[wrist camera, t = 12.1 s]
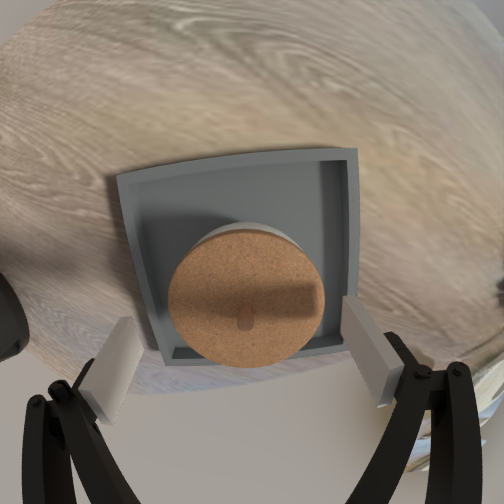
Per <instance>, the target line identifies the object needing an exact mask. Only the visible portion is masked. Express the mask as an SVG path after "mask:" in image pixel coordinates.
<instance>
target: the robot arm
mask: <svg viewBox="0 0 504 504" xmlns="http://www.w3.org/2000/svg"><path fill="white" fill-rule="evenodd" d="M340 333H341V335H342V337H343V338H344V340H345V342H346V344H347V346H348V348H349V350H350V352H351V354H352V356H353V358H354V360H355V362H356V364H357V366H358V368H359V370H360V372H361V375H362V377H363V378H364V381H365V383H366V385H367V387H368V389H369V391H370V393H371V395H372V397H373V399H374V401H375V404H376V406H377V408H379V407H382V406H385V405H389V404H391V403H392V400H393V397H395V399H396V401H397V403H396V406H395V408H394V411H393V413H392V416H391V418H390V421H389V423H388V425H387V427H386V430H385V432H384V434H383V437H382V439H381V441H380V443H379V445H378V447H377V449H376V451H375V453H374V455H373V457H372V459H371V461H370V462H369V464H368V466H367V468H366V470H365V472H364V473H363V475H362V477H361V479H360V480H359V482H358V484H357V486H356V487H355V489H354V491H353V492H352V494H351V495H350V497H349V498H348V500H347V502H346V503H345V504H388V503H389V501H390V499H391V497H392V495H393V493H394V491H395V489H396V487H397V485H398V483H399V480H400V478H401V476H402V474H403V471H404V469H405V467H406V464H407V462H408V459H409V457H410V454H411V452H412V449H413V446H414V444H415V441H416V438H417V435H418V432H419V429H420V426H421V423H422V419H423V416H424V413H425V410H431V451H430V466H429V477H428V486H427V493H426V500H425V504H481V502H482V447H481V435H480V425H479V417H478V410H477V404H476V398H475V392H474V387H473V382H472V378H471V373H470V369H469V367H468V366H467V365H466V364H464V363H462V362H458V361H456V362H452V363H450V364H449V366H448V367H447V369H446V370H441V371H432V369H431V368H429V367H428V366H426V365H420V364H419V363H418V362H417V360H416V359H415V358H414V356H413V355H412V353H411V352H410V351H409V349H408V348H407V347H406V345H405V344H404V343H403V341H402V340H401V339H400V337H399V336H398V335H396V334H395V333H393V332H387V333H382V331H381V330H380V328H379V327H378V326H377V324H376V323H375V321H374V320H373V319H372V317H371V316H370V315H369V313H368V312H367V310H366V309H365V308H364V306H363V305H362V304H361V302H360V301H359V300H358V298H357V297H356V296H355V294H353V295H346V296H343V304H342V319H341V331H340ZM28 342H29V327H28V323H27V319H26V316H25V313H24V311H23V308H22V306H21V304H20V302H19V300H18V298H17V296H16V294H15V293H14V291H13V289H12V288H11V286H10V285H9V283H8V282H7V281H6V279H5V278H4V277H3V276H2V275H1V274H0V362H2V361H4V360H6V359H8V358H10V357H13V356H15V355H17V354H19V353H20V352H21V351H22V350H23V349H24V348H25V347H26V346H27V344H28ZM143 351H144V349H143V347H142V344H141V342H140V339H139V336H138V334H137V331H136V328H135V325H134V323H133V320H132V317H121V318H120V320H119V321H118V323H117V324H116V326H115V328H114V329H113V331H112V332H111V334H110V335H109V337H108V339H107V340H106V342H105V344H104V345H103V347H102V348H101V350H100V352H99V353H98V355H97V357H96V358H92V359H90V360H89V361H88V362H87V363H86V364H85V366H84V367H83V369H82V371H81V372H80V374H79V376H78V377H77V379H76V381H75V383H74V384H73V386H72V388H70V386H69V384H68V383H67V381H65V380H57V381H55V382H53V383H52V384H51V385H50V386H49V388H48V393H49V395H50V396H51V398H52V399H53V400H51V401H47V400H46V399H45V398H44V397H43V396H42V395H40V394H39V395H34V396H33V397H31V398H30V399H29V401H28V404H27V409H26V416H25V425H24V435H23V448H22V497H23V504H77V503H76V497H75V491H74V485H73V477H72V469H71V460H70V455H71V457H72V460H73V463H74V466H75V468H76V471H77V473H78V476H79V478H80V480H81V482H82V485H83V487H84V490H85V492H86V494H87V496H88V498H89V500H90V502H91V504H141V503H140V502H139V500H138V499H137V497H136V496H135V494H134V493H133V491H132V489H131V488H130V486H129V485H128V483H127V482H126V480H125V478H124V476H123V475H122V473H121V471H120V469H119V468H118V466H117V464H116V462H115V460H114V458H113V457H112V455H111V453H110V451H109V449H108V447H107V445H106V443H105V441H104V439H103V437H102V434H101V432H100V430H99V428H98V426H97V424H96V423H95V421H96V419H97V418H98V419H99V420H100V422H101V423H102V424H106V425H112V426H114V424H115V421H116V418H117V416H118V413H119V411H120V408H121V405H122V402H123V400H124V397H125V395H126V392H127V390H128V387H129V385H130V382H131V380H132V378H133V375H134V373H135V370H136V368H137V365H138V363H139V361H140V358H141V356H142V354H143Z"/></svg>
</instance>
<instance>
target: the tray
mask: <svg viewBox="0 0 504 504" xmlns="http://www.w3.org/2000/svg"><path fill="white" fill-rule="evenodd" d="M116 179H117V185H118V191H119V197H120V203H121V209H122V214H123V219H124V224H125V229H126V234H127V238H128V243H129V247H130V252H131V256H132V260H133V264H134V268H135V272H136V276H137V279H138V283H139V287H140V290H141V294H142V297H143V301H144V304H145V307H146V310H147V314H148V317H149V320H150V323H151V326H152V329H153V332H154V335H155V338H156V341H157V344H158V347H159V349H160V352H161V355H162V358H163V360H164V363H165V366H202V365H223V364H219V363H216V362H214V361H212V360H209V359H207V358H205V357H203V356H202V355H200V354H199V353H197V352H196V351H195V350H193V349H192V348H191V347H190V346H189V345H188V344H187V343H186V342H185V341H184V340H183V339H182V338H181V336H180V335H179V333H178V332H177V330H176V329H175V327H174V324H173V322H172V320H171V317H170V313H169V309H168V289H169V284H170V281H171V278H172V275H173V273H174V271H175V269H176V268H177V266H178V264H179V263H180V261H181V260H182V259H183V257H184V256H185V255H186V254H187V253H188V252H189V251H190V250H191V248H192V247H193V246H194V245H195V244H196V243H197V242H198V241H199V240H200V239H201V238H203V237H204V236H205V235H207V234H208V233H210V232H211V231H213V230H215V229H217V228H219V227H222V226H224V225H228V224H232V223H239V222H255V223H260V224H265V225H268V226H271V227H273V228H276V229H278V230H279V231H281V232H283V233H284V234H286V235H287V236H288V237H290V238H291V239H292V240H293V241H294V242H296V243H297V244H298V245H299V247H300V248H301V249H302V250H303V251H304V253H305V254H306V255H307V256H308V258H309V259H310V260H311V261H312V263H313V264H314V266H315V268H316V270H317V271H318V273H319V275H320V278H321V281H322V284H323V288H324V295H325V305H324V311H323V316H322V319H321V322H320V324H319V326H318V328H317V330H316V332H315V333H314V335H313V336H312V338H311V339H310V340H309V341H308V342H307V343H306V345H304V346H303V347H302V348H301V349H300V350H299V351H297V352H296V353H294V354H293V355H291V356H290V357H288V358H286V359H284V360H287V359H295V358H303V357H310V356H317V355H324V354H330V353H336V352H342V351H347V350H349V348H348V346H347V344H346V342H345V340H344V338H343V337H342V335H341V333H340V331H341V319H342V304H343V296H346V295H353V294H355V296H356V297H357V289H358V273H359V250H360V190H359V167H358V151H357V148H318V149H296V150H281V151H268V152H256V153H246V154H237V155H228V156H220V157H213V158H206V159H199V160H192V161H186V162H180V163H174V164H168V165H163V166H158V167H152V168H147V169H142V170H138V171H133V172H128V173H124V174H120V175H116Z"/></svg>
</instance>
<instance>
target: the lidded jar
mask: <svg viewBox="0 0 504 504" xmlns="http://www.w3.org/2000/svg"><path fill="white" fill-rule="evenodd" d="M324 305H325V295H324V288H323V284H322V281H321V278H320V275H319V273H318V271H317V270H316V268H315V266H314V264H313V263H312V261H311V260H310V259H309V258H308V256H307V255H306V254H305V253H304V251H303V250H302V249H301V248H300V247H299V245H298V244H297V243H296V242H294V241H293V240H292V239H291V238H290V237H288V236H287V235H286V234H284V233H283V232H281V231H279V230H278V229H276V228H273V227H271V226H268V225H265V224H260V223H255V222H239V223H232V224H228V225H224V226H222V227H219V228H217V229H215V230H213V231H211V232H210V233H208V234H207V235H205V236H204V237H203V238H201V239H200V240H199V241H198V242H197V243H196V244H195V245H194V246H193V247H192V248H191V250H190V251H189V252H188V253H187V254H186V255H185V256H184V257H183V259H182V260H181V261H180V263H179V264H178V266H177V268H176V269H175V271H174V273H173V275H172V278H171V281H170V284H169V289H168V309H169V313H170V317H171V320H172V322H173V324H174V327H175V329H176V330H177V332H178V333H179V335H180V336H181V338H182V339H183V340H184V341H185V342H186V343H187V344H188V345H189V346H190V347H191V348H192V349H193V350H195V351H196V352H197V353H199V354H200V355H202V356H203V357H205V358H207V359H209V360H212V361H214V362H216V363H219V364H223V365H226V366H232V367H239V368H254V367H262V366H267V365H271V364H274V363H277V362H280V361H282V360H284V359H286V358H288V357H290V356H291V355H293V354H294V353H296V352H297V351H299V350H300V349H301V348H302V347H303V346H304V345H306V343H307V342H308V341H309V340H310V339H311V338H312V336H313V335H314V333H315V332H316V330H317V328H318V326H319V324H320V322H321V319H322V316H323V311H324Z"/></svg>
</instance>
